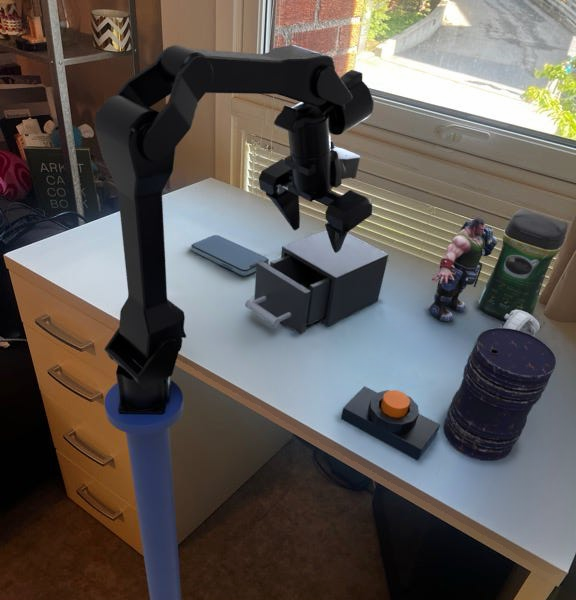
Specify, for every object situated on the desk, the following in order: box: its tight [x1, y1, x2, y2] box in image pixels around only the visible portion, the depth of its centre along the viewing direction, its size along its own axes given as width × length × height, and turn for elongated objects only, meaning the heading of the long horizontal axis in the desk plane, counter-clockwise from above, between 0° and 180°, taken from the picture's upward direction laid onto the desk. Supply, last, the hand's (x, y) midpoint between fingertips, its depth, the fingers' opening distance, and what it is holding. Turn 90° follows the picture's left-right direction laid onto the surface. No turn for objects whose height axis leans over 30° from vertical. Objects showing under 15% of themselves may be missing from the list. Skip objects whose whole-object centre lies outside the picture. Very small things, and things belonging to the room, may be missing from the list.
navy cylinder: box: [442, 327, 557, 462], centre depth 73 cm, size 10×10×15 cm
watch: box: [502, 310, 541, 336], centre depth 85 cm, size 6×8×11 cm
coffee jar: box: [478, 208, 569, 322], centre depth 97 cm, size 10×8×19 cm
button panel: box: [340, 386, 441, 461], centre depth 76 cm, size 12×6×4 cm, turn 55°
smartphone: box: [190, 234, 270, 276], centre depth 108 cm, size 8×2×15 cm
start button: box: [381, 389, 410, 418], centre depth 74 cm, size 4×4×2 cm
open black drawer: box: [244, 255, 332, 335], centre depth 93 cm, size 17×11×8 cm
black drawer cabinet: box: [280, 229, 389, 328], centre depth 98 cm, size 14×13×10 cm
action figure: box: [428, 217, 498, 323], centre depth 96 cm, size 20×7×18 cm, turn 139°
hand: (316, 239), depth 90 cm, fingers open, 9 cm apart
